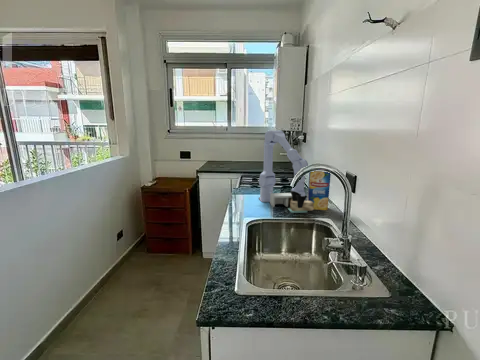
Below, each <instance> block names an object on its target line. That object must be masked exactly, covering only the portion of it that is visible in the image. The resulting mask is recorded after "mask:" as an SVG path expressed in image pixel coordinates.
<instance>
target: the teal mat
mask: <svg viewBox="0 0 480 360" xmlns="http://www.w3.org/2000/svg"><path fill="white" fill-rule="evenodd" d="M287 210H288V211H289V212H290V213H291V214H294V213H295V214H299V213H308V211H292V210H291V209H290V207H287Z"/></svg>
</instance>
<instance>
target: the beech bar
mask: <svg viewBox="0 0 480 360" xmlns="http://www.w3.org/2000/svg"><path fill="white" fill-rule="evenodd" d="M313 205H314V202H312V201H307V200H305V201H304V203H303V206H302V208H298V203H297V201H290V205H289V208H290V209H291V210H292V211H307V212H308V211H314V209H313Z"/></svg>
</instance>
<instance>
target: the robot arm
mask: <svg viewBox="0 0 480 360" xmlns="http://www.w3.org/2000/svg"><path fill="white" fill-rule="evenodd" d="M277 143H278V144H279V145H280V147H282V148H283V150H284V151H285V152H286V156H287V158H288V159H289V161H290V162H291V164H292V166H291V167H292V169H293V177H294V176H295V175H296V173H297V172H298V171H299V170H300V169H301V168H303V167H306V166H308V167H309V165H308V164H309V163H308V161H307V159H306V158H305V159H304V158H303V157H302V156H301V155H300V153H299V152H298V151H299V150H297V149H295V148H293V147H292V146H291V145H290V143H289V141H288V140H287V138H286V134H285V133H284V131H283V130H281V129H277V130H275V129H268V130H266V132H265V133H264V142H263V170H262V172H261V173H260V174H259V179H258V184H259V186H260V190H259V191H260V195H259V197H258V200H260V202H261V203H270V193H273V192H274V186H275V185H276V183H277V178H276V173H274V171H273V166H274V165H273V163H274V162H273V159H274V157H273V156H274V146H275V145H276V144H277ZM305 179H306V175H305V176H303V177H302V179H301V180H300V181H299V182H298V183H297V185H296V186H295V187H294V186H293V187H294V188H293V187H292V189H290V192H289V193H291V195H292V199H293V201H297V203H298V208H302V206H303V203H304V201H306V200H307V197H308V195H306V192H305V181H306V180H305Z"/></svg>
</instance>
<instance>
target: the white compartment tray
mask: <svg viewBox="0 0 480 360" xmlns="http://www.w3.org/2000/svg"><path fill="white" fill-rule="evenodd" d="M290 201H293V199H292V195H291V192H274V193H270V202H269V204H270V206H271V207H272V208H275V207H276V206H275V205H284V206H285V207H287V208H289V206H290Z"/></svg>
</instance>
